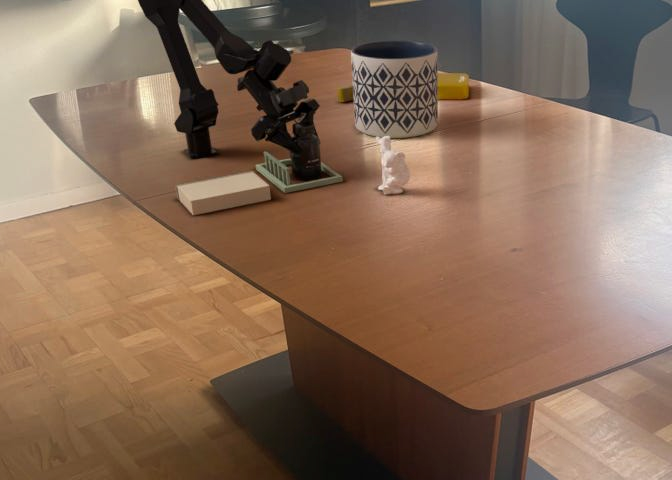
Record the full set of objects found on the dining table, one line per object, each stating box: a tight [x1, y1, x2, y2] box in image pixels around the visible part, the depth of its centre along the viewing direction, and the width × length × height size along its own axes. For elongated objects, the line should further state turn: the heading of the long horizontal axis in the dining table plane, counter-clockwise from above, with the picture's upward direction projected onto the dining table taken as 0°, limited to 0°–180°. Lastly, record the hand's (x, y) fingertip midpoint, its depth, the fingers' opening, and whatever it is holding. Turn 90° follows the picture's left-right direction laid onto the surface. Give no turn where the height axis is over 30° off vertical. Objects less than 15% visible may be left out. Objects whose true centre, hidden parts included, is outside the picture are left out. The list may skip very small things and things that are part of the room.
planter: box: [350, 39, 439, 139], centre depth 220 cm, size 22×22×20 cm
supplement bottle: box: [289, 122, 323, 182], centre depth 189 cm, size 7×7×12 cm
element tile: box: [438, 72, 470, 101], centre depth 254 cm, size 15×15×5 cm
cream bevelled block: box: [174, 170, 272, 216], centre depth 179 cm, size 11×17×3 cm, turn 122°
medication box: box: [336, 84, 354, 103], centre depth 248 cm, size 12×3×4 cm, turn 134°
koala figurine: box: [375, 136, 411, 195], centre depth 181 cm, size 8×7×12 cm
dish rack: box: [255, 150, 344, 194], centre depth 191 cm, size 18×14×5 cm
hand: (309, 149), depth 188 cm, fingers closed on supplement bottle, 7 cm apart
